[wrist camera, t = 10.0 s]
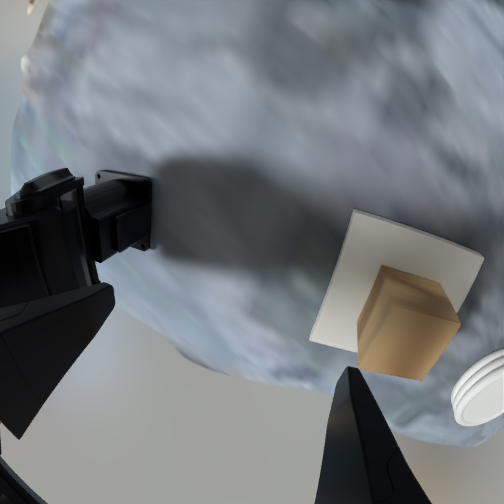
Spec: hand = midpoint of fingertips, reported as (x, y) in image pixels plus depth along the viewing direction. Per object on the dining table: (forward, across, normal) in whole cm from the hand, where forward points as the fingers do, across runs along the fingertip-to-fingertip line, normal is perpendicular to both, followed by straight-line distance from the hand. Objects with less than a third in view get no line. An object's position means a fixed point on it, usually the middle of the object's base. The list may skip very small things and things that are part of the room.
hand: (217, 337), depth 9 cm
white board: (+12, -10, +3) cm, 16 cm away
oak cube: (+11, -10, +3) cm, 15 cm away
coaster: (+12, -27, +10) cm, 31 cm away
